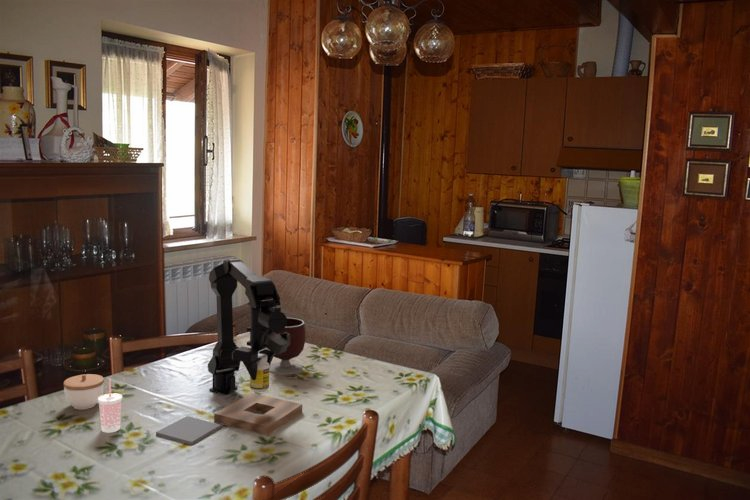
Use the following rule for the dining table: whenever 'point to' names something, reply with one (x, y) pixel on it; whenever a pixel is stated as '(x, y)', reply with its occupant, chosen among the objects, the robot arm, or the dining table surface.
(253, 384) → the supplement bottle
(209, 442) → the dining table surface
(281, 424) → the holder block
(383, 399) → the dining table surface
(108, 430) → the beverage cup
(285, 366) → the mate gourd
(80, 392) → the lidded jar
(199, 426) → the pad
